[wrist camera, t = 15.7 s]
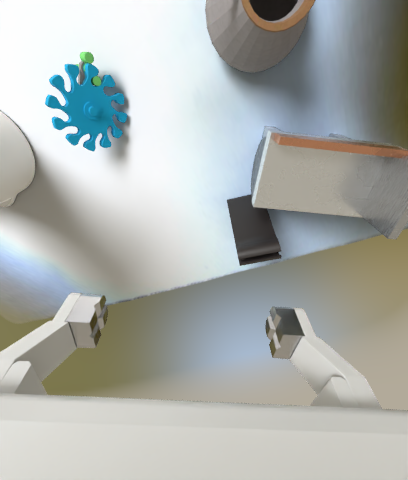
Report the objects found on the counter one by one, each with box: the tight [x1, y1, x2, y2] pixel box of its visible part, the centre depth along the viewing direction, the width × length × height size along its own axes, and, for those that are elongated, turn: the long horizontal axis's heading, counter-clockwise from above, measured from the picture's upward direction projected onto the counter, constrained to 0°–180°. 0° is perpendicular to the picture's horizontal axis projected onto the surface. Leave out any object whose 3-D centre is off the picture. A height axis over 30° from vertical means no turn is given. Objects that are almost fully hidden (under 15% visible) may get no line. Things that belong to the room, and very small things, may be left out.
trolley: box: [251, 126, 408, 239], centre depth 31 cm, size 15×10×17 cm
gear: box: [45, 52, 127, 151], centre depth 32 cm, size 11×6×10 cm
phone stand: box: [227, 195, 281, 266], centre depth 39 cm, size 9×6×12 cm, turn 13°
